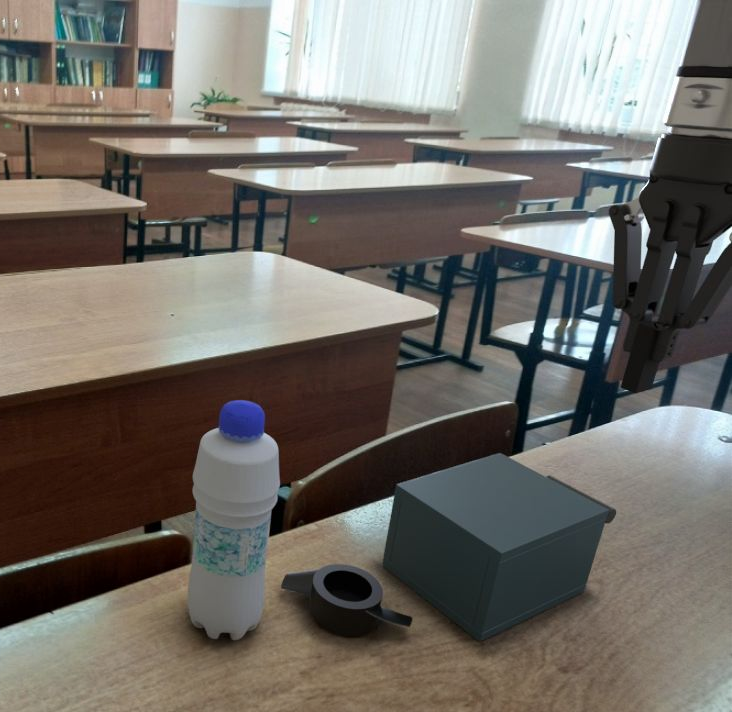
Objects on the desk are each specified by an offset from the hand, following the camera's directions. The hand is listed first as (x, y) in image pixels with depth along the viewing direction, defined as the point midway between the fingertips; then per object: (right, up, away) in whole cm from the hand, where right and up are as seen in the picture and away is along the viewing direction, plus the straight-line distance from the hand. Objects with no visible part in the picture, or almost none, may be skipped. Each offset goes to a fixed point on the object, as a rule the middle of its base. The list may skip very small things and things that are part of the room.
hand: (635, 388), depth 70 cm
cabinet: (-16, -18, -2) cm, 24 cm away
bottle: (-40, -19, -9) cm, 46 cm away
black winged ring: (-30, -19, -8) cm, 36 cm away
